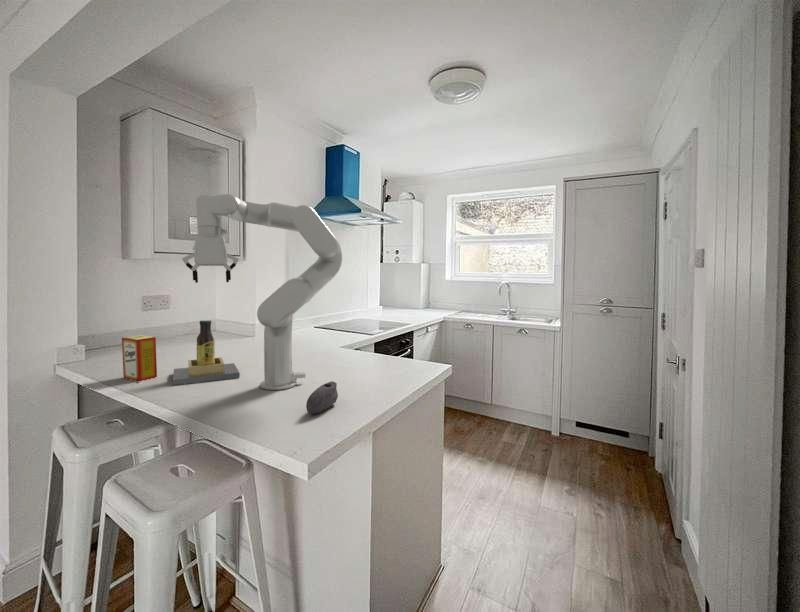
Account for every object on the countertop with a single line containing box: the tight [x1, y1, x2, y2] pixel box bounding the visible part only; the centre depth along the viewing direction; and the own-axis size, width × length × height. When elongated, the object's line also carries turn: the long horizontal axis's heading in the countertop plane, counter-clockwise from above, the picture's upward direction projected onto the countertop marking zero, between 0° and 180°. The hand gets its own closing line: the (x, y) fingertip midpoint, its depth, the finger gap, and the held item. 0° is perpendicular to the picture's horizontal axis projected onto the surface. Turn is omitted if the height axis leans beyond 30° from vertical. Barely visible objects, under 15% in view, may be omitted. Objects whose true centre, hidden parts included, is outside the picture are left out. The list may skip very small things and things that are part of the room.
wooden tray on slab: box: [172, 356, 240, 386], centre depth 147 cm, size 22×18×6 cm
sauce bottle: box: [196, 319, 216, 366], centre depth 146 cm, size 6×6×20 cm
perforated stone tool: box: [306, 380, 339, 415], centre depth 111 cm, size 15×5×7 cm, turn 159°
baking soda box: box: [121, 334, 158, 382], centre depth 142 cm, size 10×6×16 cm
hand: (212, 282), depth 130 cm, fingers open, 9 cm apart
